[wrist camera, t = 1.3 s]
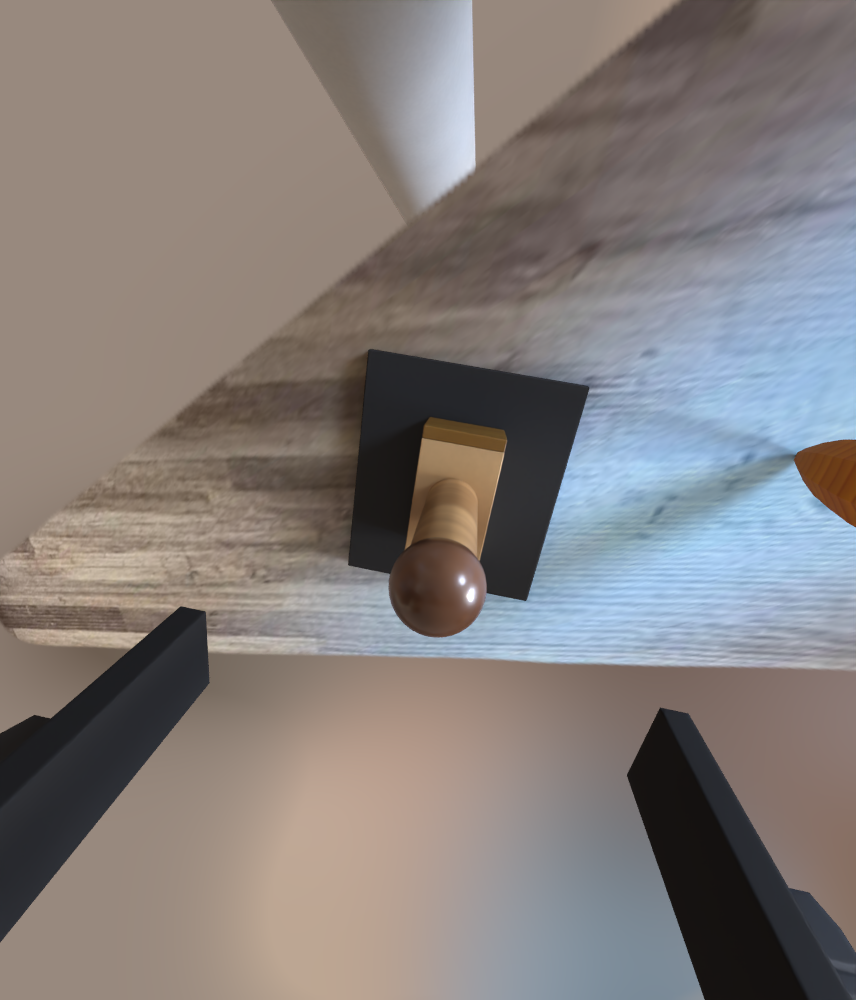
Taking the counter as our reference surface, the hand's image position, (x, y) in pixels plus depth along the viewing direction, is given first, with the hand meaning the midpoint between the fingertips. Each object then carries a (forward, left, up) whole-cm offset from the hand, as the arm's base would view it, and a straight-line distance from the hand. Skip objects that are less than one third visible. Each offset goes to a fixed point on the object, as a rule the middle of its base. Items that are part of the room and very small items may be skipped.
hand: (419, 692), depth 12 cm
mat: (0, 0, -19) cm, 19 cm away
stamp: (0, 0, -18) cm, 18 cm away
